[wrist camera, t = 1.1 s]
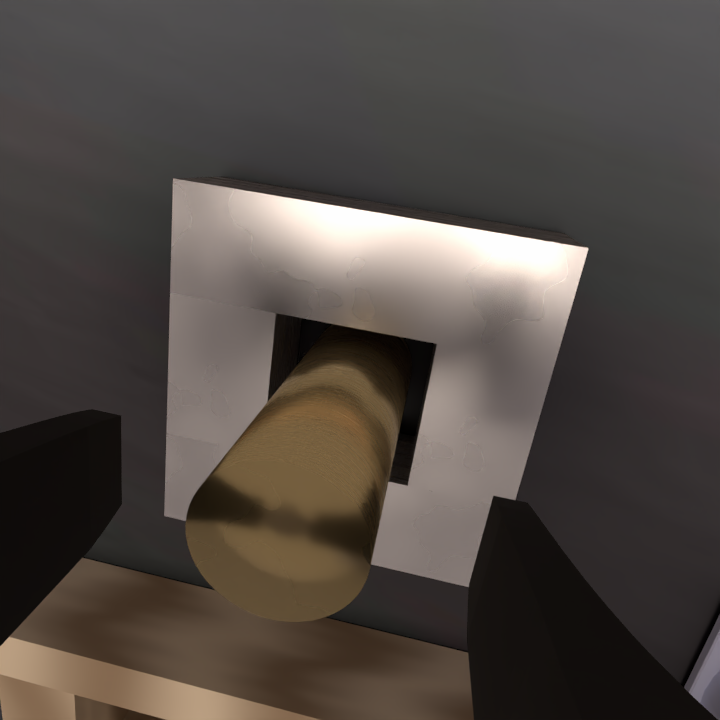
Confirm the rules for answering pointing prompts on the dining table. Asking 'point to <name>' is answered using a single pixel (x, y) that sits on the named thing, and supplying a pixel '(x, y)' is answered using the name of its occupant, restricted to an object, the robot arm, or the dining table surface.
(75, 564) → the robot arm
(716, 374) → the dining table surface
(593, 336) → the dining table surface
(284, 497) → the tan brown peg
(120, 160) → the dining table surface
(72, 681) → the rack
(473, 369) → the socket block
